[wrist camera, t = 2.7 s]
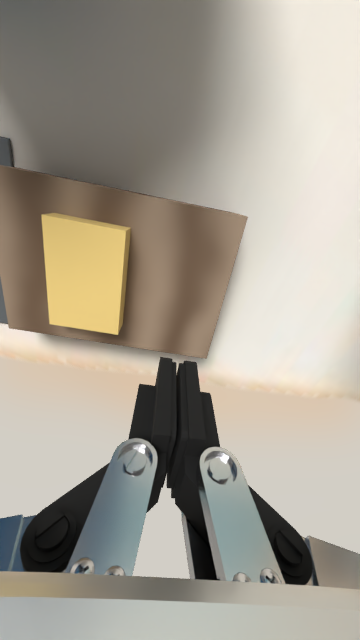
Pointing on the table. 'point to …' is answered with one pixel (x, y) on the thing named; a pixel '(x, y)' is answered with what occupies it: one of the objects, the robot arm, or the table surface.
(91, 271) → the yellow rectangular block
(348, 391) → the table surface
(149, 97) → the table surface
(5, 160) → the mat
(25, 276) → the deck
